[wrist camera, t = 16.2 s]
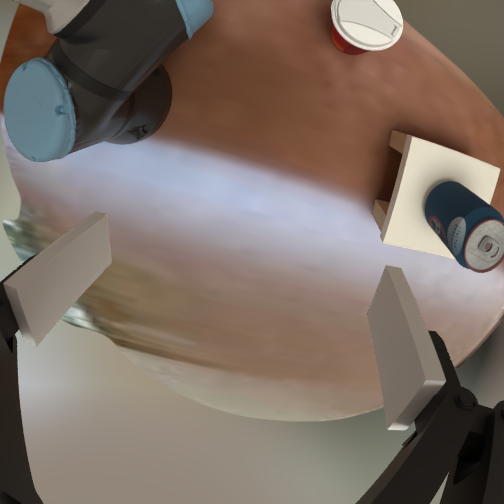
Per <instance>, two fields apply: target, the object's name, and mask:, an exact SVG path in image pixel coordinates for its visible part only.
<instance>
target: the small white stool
mask: <svg viewBox="0 0 504 504" xmlns="http://www.w3.org/2000/svg"><path fill="white" fill-rule="evenodd" d="M389 146H391V147H392V148H394V149H396V150H397V151H399V152H400V153H402V154H403V155H402V159H401V163H400V167H399V171H398V175H397V179H396V183H395V186H394V190H393V194H392V197H391V201H390V202H386V201H382V200H378V199H375V203H374V206H373V210H372V215H373V217H374V219H375V221H376V223H377V225H378V227H379V229H380V231H381V234H380V238H381V240H382V242H383V243H386V244H391V245H395V246H400V247H405V248H409V249H414V250H418V251H422V252H427V253H431V254H436V255H440V256H444V257H449V258H453V259H455V258H454V256H453V255H452V254H451V252H450V251H449V250H448V248H447V247H446V246H445V245H444V243H443V242H442V241H441V239H440V238H439V237H438V236H437V234H436V233H435V232H434V231H433V230H432V228H431V227H430V226H429V224H428V223H427V220H426V217H425V203H426V200H427V197H428V195H429V194H430V192H431V191H432V190H433V189H434V188H435V187H436V186H437V185H439V184H440V183H443V182H446V181H455V182H458V183H460V184H462V185H463V186H465V187H466V188H468V189H469V190H470V191H472V192H473V193H475V194H476V195H477V196H479V197H480V198H481V199H483V200H484V201H485V202H487V203H488V204H489V205H490V202H491V199H492V196H493V193H494V190H495V186H496V183H497V180H498V176H499V172H500V169H499V168H497V167H495V166H493V165H491V164H488V163H486V162H484V161H481V160H479V159H476V158H474V157H471V156H469V155H466V154H463V153H461V152H458V151H455V150H453V149H450V148H447V147H444V146H442V145H439V144H436V143H433V142H430V141H427V140H424V139H421V138H418V137H414V136H411V135H408V134H405V133H401V132H398V131H394V130H392V133H391V137H390V142H389Z"/></svg>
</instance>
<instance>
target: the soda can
mask: <svg viewBox="0 0 504 504" xmlns="http://www.w3.org/2000/svg"><path fill="white" fill-rule="evenodd" d="M425 217H426V220H427V223H428V224H429V226H430V227H431V228H432V230H433V231H434V232H435V233H436V234H437V236H438V237H439V238H440V239H441V241H442V242H443V243H444V245H445V246H446V247H447V248H448V250H449V251H450V252H451V254H452V255H453V256H454V258H455V259H456V260H457V262H458V263H459V264H460V265H461V266H463V267H465V268H467V269H471V270H473V271H475V272H478V273H485V272H488V271H491V270H493V269H494V268H496V267H497V266H498V265H499V264H500V263H501V262H502V261H503V259H504V219H503V217H502V215H501V214H500V213H499V212H498V211H497V210H496V209H494V208H493V207H492V206H491V205H489V204H488V203H487V202H485V201H484V200H483V199H481V198H480V197H479V196H477V195H476V194H475V193H473V192H472V191H470V190H469V189H468V188H466V187H465V186H463V185H462V184H460V183H458V182H455V181H446V182H443V183H440V184H439V185H437V186H436V187H435V188H434V189H433V190H432V191H431V192H430V194H429V195H428V197H427V200H426V203H425Z"/></svg>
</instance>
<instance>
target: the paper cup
mask: <svg viewBox="0 0 504 504" xmlns="http://www.w3.org/2000/svg"><path fill="white" fill-rule="evenodd" d="M331 12H332V19H333V24H332V40H333V43H334V44H335V46H336V47H337V48H338V49H339V50H340V51H342V52H344V53H346V54H350V55H358V54H362V53H365V52H368V51H371V50H383V49H386V48H388V47H390V46H392V45H393V44H395V43H396V42H397V40H398V39H399V38H400V36H401V34H402V30H403V19H402V15H401V13H400V10H399V8H398V7H397V5H396V4H395V2H394V1H393V0H333V2H332V5H331Z"/></svg>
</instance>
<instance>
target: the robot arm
mask: <svg viewBox="0 0 504 504" xmlns="http://www.w3.org/2000/svg"><path fill="white" fill-rule="evenodd" d="M13 1H16V2H18V3H21V4H23V5H26V6H28V7H31V8H33V9H35V10H38V11H40V12H43V14H44V15H45V19H46V24H47V30H48V32H49V33H50V34H52V35H55V36H57V37H58V38H57V39H56V41H55V42H54V44H53V45H52V46H51V48H50V49H49V51H48V52H47V54H46V55H45V56H44V57H43V58H33V59H31V60H30V61H28V62H25V63H23V64H22V65H20V66H19V67H18V68H17V69H16V70H15V72H14V73H13V74H12V76H11V78H10V80H9V82H8V85H7V88H6V92H5V97H4V116H5V125H6V129H7V132H8V135H9V137H10V140H11V142H12V143H13V145H14V146H15V148H16V149H17V150H18V151H19V153H20V154H22V155H23V156H24V157H25V158H27V159H29V160H31V161H34V162H36V161H37V162H46V161H50V160H54V159H61V158H63V157H65V156H67V155H68V154H70V153H73V152H75V151H78V150H81V149H83V148H86V147H89V146H92V145H94V144H97V143H100V142H103V141H106V142H110V143H114V144H122V145H123V144H131V143H135V142H138V141H141V140H143V139H145V138H147V137H149V136H151V135H152V134H153V133H154V132H156V131H157V130H158V129H159V127H160V126H161V125H162V124H163V122H164V120H165V119H166V117H167V115H168V112H169V109H170V106H171V100H172V87H171V82H170V79H169V76H168V74H167V72H166V70H165V69H164V67H163V66H162V65H161V64H162V63H163V62H164V61H165V60H166V59H167V58H168V57H169V56H170V55H171V54H172V53H173V52H174V51H175V50H176V49H177V48H178V47H179V46H180V45H181V44H183V43H184V42H185V41H186V40H188V41H189V40H190V39H191V38H192V36H193V34H194V33H195V32H196V31H197V30H198V29H199V28H200V27H201V26H202V25H203V24H205V23H206V22H207V21H208V20H209V19H210V18H211V16H212V14H213V11H214V5H213V1H212V0H13ZM111 263H112V259H111V249H110V237H109V224H108V214H106V213H100V212H94V213H93V214H91V215H90V216H89V217H87V218H86V219H84V220H83V221H81V222H80V223H79V224H77V225H76V226H75V227H73V228H72V229H70V230H69V231H68V232H66V233H65V234H64V235H62V236H61V237H60V238H58V239H57V240H56V241H54V242H53V243H52V244H51V245H49V246H48V247H47V248H45V249H44V250H43V251H42V252H40V253H38V254H36V255H34V256H32V257H30V258H29V259H27V260H26V261H25V262H24V263H22V265H20V266H19V267H18V268H17V269H16V270H14V271H13V272H12V273H10V274H9V275H8V276H7V277H6V278H5V279H3V280H2V281H1V282H0V504H43V502H42V500H41V499H40V497H39V496H38V494H37V492H36V490H35V488H34V484H33V480H32V476H31V472H30V467H29V462H28V457H27V451H26V446H25V440H24V433H23V426H22V418H21V409H20V399H19V386H18V368H17V367H18V366H17V339H16V336H15V333H16V332H17V331H18V330H20V332H21V334H22V337H23V339H24V340H25V341H27V342H29V343H31V344H33V345H35V346H37V345H38V344H39V343H40V342H41V341H42V339H43V338H44V337H45V336H46V335H47V333H48V332H49V331H50V330H51V329H52V328H53V326H54V325H55V324H56V323H57V322H58V321H59V320H60V318H61V317H62V316H63V315H64V314H65V313H66V312H67V310H68V309H69V308H70V307H71V306H72V305H73V304H74V303H75V301H76V300H77V299H78V298H79V297H80V296H81V295H82V294H83V293H84V292H85V291H86V289H87V288H88V287H89V286H90V285H91V284H92V283H93V282H94V281H95V280H96V279H97V278H98V277H99V276H100V275H101V273H102V272H103V271H104V270H105V269H106V268H107V267H108V266H109V265H110V264H111ZM367 315H368V320H369V324H370V329H371V334H372V339H373V344H374V349H375V354H376V359H377V365H378V371H379V376H380V382H381V388H382V395H383V401H384V408H385V415H386V422H387V429H388V430H406V429H407V428H408V427H409V426H410V425H411V424H412V423H413V422H414V421H415V426H416V430H415V431H414V433H413V434H412V435H411V436H410V437H409V438H408V439H407V440H406V441H405V442H404V443H403V444H402V445H403V448H402V449H401V450H400V451H399V453H398V454H397V456H396V457H395V458H394V459H393V461H392V462H391V463H390V464H389V466H388V467H387V468H386V470H385V471H384V472H383V473H382V474H381V476H380V477H379V478H378V479H377V480H376V481H375V483H374V484H373V485H372V486H371V487H370V488H369V490H368V491H367V492H366V493H365V494H364V495H363V496H362V497H361V498H360V500H359V501H358V502H357V503H356V504H430V502H431V501H432V499H433V498H434V496H435V495H436V493H437V491H438V489H439V488H440V486H441V485H442V483H443V481H444V479H445V477H446V476H447V474H448V472H449V474H448V478H447V481H446V485H445V488H444V491H443V494H442V498H441V501H440V504H504V401H500V402H499V403H498V404H497V405H496V406H495V407H494V408H493V409H492V408H488V407H485V406H482V405H479V404H478V402H477V399H476V397H475V396H474V394H473V393H472V392H471V391H469V390H468V389H466V388H464V387H461V386H460V383H459V380H458V377H457V374H456V372H455V369H454V366H453V364H452V361H451V360H450V356H449V353H448V352H447V348H446V346H445V343H444V341H443V340H442V338H441V337H440V336H439V335H438V334H437V333H436V331H428V329H427V327H426V324H425V322H424V320H423V317H422V315H421V312H420V310H419V307H418V305H417V303H416V300H415V298H414V296H413V294H412V291H411V289H410V287H409V285H408V282H407V280H406V278H405V276H404V274H403V271H402V269H401V268H398V267H393V266H388V265H386V267H385V269H384V272H383V275H382V277H381V280H380V283H379V285H378V288H377V290H376V293H375V295H374V298H373V300H372V303H371V305H370V308H369V310H368V313H367Z"/></svg>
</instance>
